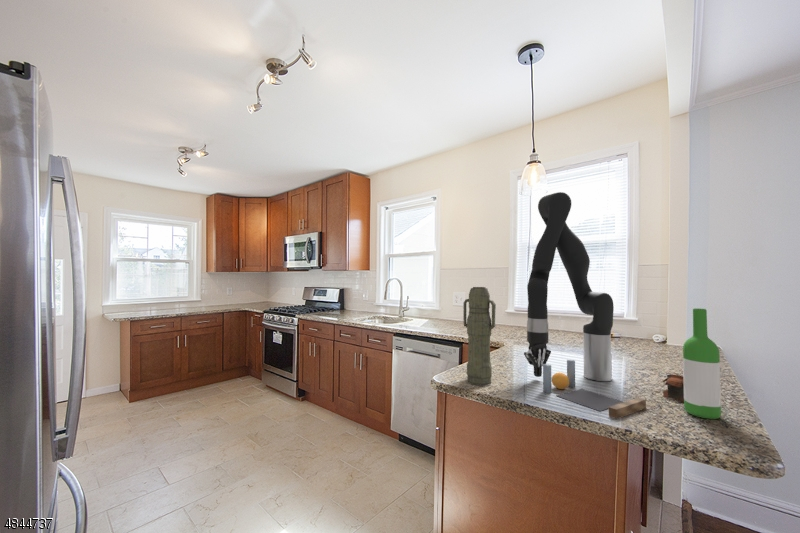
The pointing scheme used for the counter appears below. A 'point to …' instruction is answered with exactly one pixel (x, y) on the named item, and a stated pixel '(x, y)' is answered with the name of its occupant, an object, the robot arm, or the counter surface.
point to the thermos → (479, 335)
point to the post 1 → (547, 378)
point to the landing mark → (590, 399)
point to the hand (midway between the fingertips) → (537, 376)
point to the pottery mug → (674, 387)
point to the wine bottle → (701, 371)
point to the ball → (560, 380)
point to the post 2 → (571, 372)
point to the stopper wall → (627, 407)
